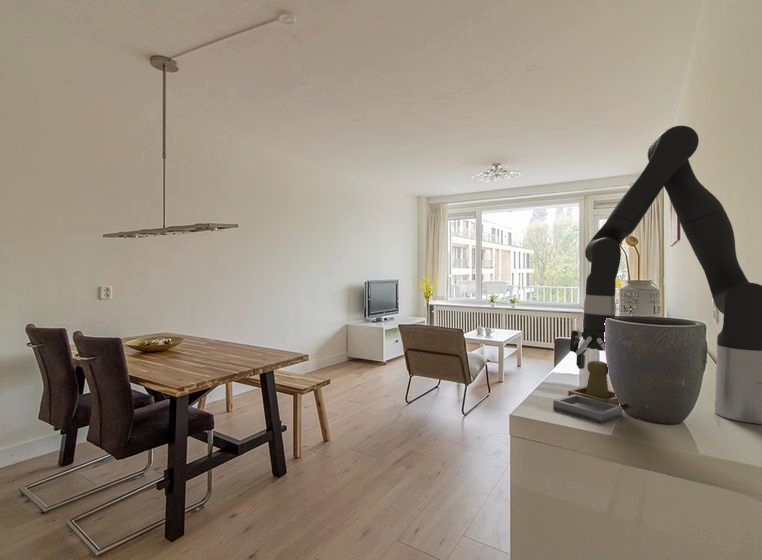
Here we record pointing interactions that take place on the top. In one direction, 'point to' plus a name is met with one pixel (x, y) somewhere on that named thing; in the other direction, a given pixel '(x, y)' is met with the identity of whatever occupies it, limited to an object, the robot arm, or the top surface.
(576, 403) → the tray
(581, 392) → the socket block
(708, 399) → the top surface
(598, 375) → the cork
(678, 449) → the top surface
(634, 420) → the top surface
